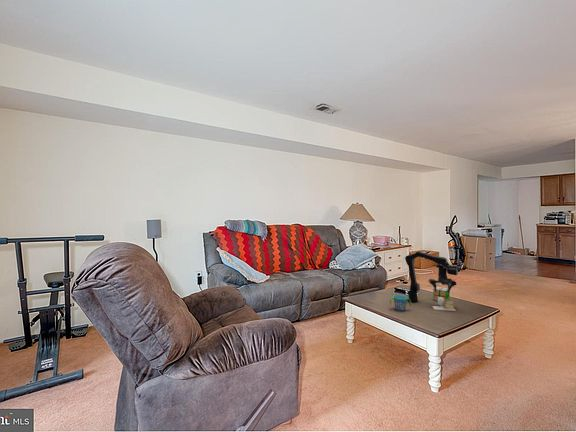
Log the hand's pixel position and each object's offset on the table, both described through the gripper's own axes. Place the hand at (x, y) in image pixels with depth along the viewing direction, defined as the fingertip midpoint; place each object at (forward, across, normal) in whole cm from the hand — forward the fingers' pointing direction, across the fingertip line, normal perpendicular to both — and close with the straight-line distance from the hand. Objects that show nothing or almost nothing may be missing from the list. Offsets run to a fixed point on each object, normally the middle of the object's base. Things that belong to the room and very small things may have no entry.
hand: (442, 292), depth 222 cm
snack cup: (+12, -34, -11) cm, 37 cm away
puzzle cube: (+12, +6, +18) cm, 22 cm away
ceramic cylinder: (+12, +1, +5) cm, 12 cm away
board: (+11, 0, -5) cm, 12 cm away
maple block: (+10, +4, -5) cm, 12 cm away
